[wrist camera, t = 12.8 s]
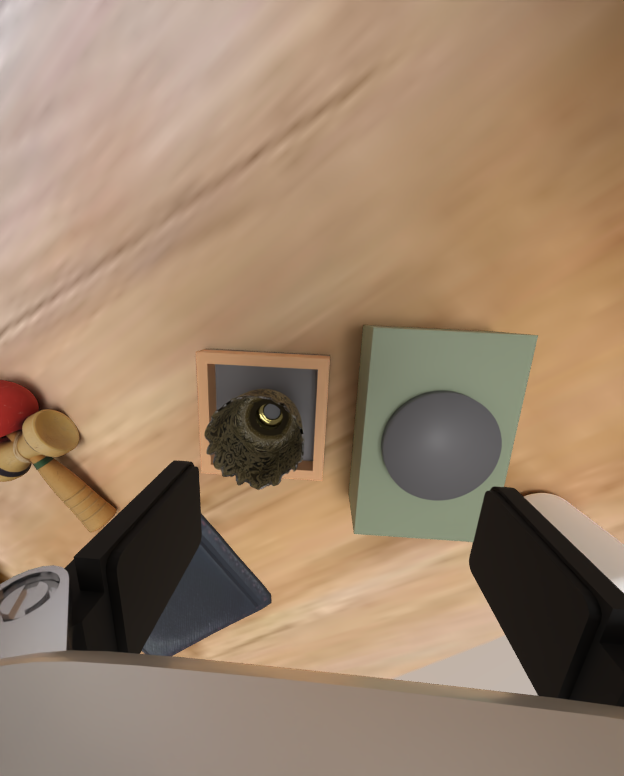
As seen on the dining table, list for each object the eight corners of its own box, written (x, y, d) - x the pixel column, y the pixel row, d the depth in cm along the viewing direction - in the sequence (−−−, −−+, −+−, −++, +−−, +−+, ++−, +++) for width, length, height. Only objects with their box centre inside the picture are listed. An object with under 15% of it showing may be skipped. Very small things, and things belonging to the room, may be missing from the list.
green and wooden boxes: (205, 317, 28) (168, 317, 21) (492, 331, 28) (548, 336, 21) (211, 485, 32) (182, 530, 26) (460, 501, 32) (497, 551, 25)
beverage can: (580, 536, 32) (726, 661, 21) (508, 563, 33) (606, 696, 22) (557, 477, 31) (700, 575, 19) (482, 507, 32) (573, 618, 20)
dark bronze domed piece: (265, 458, 31) (245, 506, 23) (220, 403, 30) (183, 433, 22) (324, 419, 30) (324, 456, 22) (279, 359, 28) (262, 376, 21)
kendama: (149, 487, 34) (25, 356, 29) (109, 534, 29) (-55, 384, 23) (107, 504, 37) (-15, 388, 31) (62, 551, 31) (-97, 419, 26)
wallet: (149, 675, 38) (68, 592, 35) (157, 658, 40) (80, 578, 37) (277, 613, 35) (198, 517, 32) (279, 598, 37) (205, 506, 34)
